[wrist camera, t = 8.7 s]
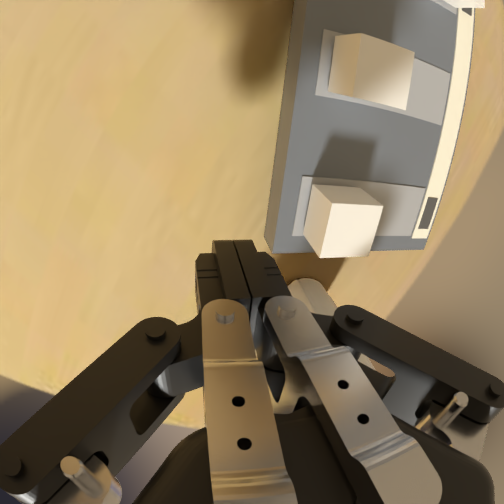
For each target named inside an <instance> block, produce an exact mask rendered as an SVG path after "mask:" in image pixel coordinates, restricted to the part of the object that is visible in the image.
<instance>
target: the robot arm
mask: <svg viewBox="0 0 504 504" xmlns="http://www.w3.org/2000/svg"><path fill="white" fill-rule="evenodd" d="M195 293H196V302H197V310H198V315H197V316H196V317H195V318H194V319H193V320H191V321H189V322H187V323H184V324H181V325H177V324H176V323H174V322H173V321H171V320H169V319H167V318H162V317H151V318H147V319H144V320H142V321H140V322H139V323H138V324H136V325H135V326H134V327H133V328H132V329H131V330H130V331H128V332H127V333H126V334H125V335H124V336H123V337H121V338H120V339H119V340H118V341H117V342H116V343H114V344H113V345H112V346H111V347H110V348H109V349H108V350H106V351H105V352H104V353H103V354H102V355H101V356H100V357H98V358H97V359H96V360H95V361H94V362H93V363H92V364H90V365H89V366H88V367H87V368H86V369H85V370H84V371H82V372H81V373H80V374H79V375H78V376H77V377H76V378H74V379H73V380H72V381H71V382H70V383H69V384H68V385H67V386H65V387H64V388H63V389H62V390H61V391H60V392H59V393H58V394H56V395H55V396H54V397H53V398H52V399H51V400H50V401H49V402H48V403H46V404H45V405H44V406H43V407H42V408H41V409H40V410H39V411H37V412H36V413H35V414H34V415H33V416H32V417H31V418H30V419H29V420H28V421H27V422H25V423H24V424H23V425H22V426H21V427H20V428H19V429H18V430H17V431H16V432H14V433H13V434H12V435H11V436H10V437H9V438H8V439H7V440H6V441H5V442H4V443H2V444H1V445H0V488H2V489H3V490H4V491H6V492H7V493H9V494H10V495H12V496H13V497H15V498H16V499H17V500H18V501H19V502H21V503H23V504H119V503H120V500H121V496H122V489H121V486H120V483H119V481H118V480H117V479H116V477H115V476H116V475H117V474H118V473H119V472H120V470H121V469H122V468H123V467H124V466H125V465H126V464H127V463H128V462H129V460H130V459H131V458H132V457H133V456H134V455H135V453H136V452H137V451H138V450H139V449H140V448H141V447H142V446H143V444H144V443H145V442H146V441H147V440H148V439H149V438H150V436H151V435H152V434H153V433H154V432H155V431H156V429H157V428H158V427H159V426H160V425H161V424H162V422H163V421H164V420H165V419H166V418H167V417H168V415H169V414H170V413H171V412H172V411H173V409H174V408H175V407H176V406H177V405H178V403H179V402H180V401H181V400H182V399H183V397H184V395H185V393H186V392H189V391H191V390H194V389H197V388H200V387H203V401H204V419H205V427H204V428H202V429H199V430H197V431H195V432H193V433H192V434H190V435H188V436H187V437H186V438H185V439H183V440H182V441H181V442H180V443H179V444H178V445H177V446H176V447H175V448H174V449H173V450H172V451H171V453H170V454H169V455H168V457H167V458H166V460H165V461H164V462H163V464H162V465H161V466H160V468H159V469H158V470H157V472H156V473H155V474H154V476H153V477H152V478H151V480H150V481H149V482H148V484H147V485H146V486H145V488H144V489H143V490H142V491H141V493H140V494H139V495H138V497H137V498H136V499H135V500H134V502H133V503H132V504H495V501H494V485H493V480H492V477H491V475H490V473H489V472H488V470H487V469H486V468H485V466H484V465H483V464H482V463H480V462H479V461H480V457H481V454H482V450H483V446H484V442H485V438H486V433H487V428H488V424H489V422H490V421H491V420H492V419H493V418H494V417H495V416H496V415H497V414H498V413H499V412H500V411H501V410H502V409H503V408H504V383H503V382H502V381H501V380H499V379H498V378H496V377H494V376H493V375H490V374H489V373H487V372H485V371H483V370H481V369H479V368H477V367H475V366H473V365H471V364H469V363H467V362H465V361H463V360H461V359H460V358H458V357H456V356H454V355H452V354H450V353H448V352H446V351H444V350H442V349H440V348H438V347H436V346H434V345H432V344H430V343H428V342H427V341H425V340H423V339H420V338H419V337H417V336H415V335H413V334H411V333H409V332H407V331H405V330H403V329H401V328H399V327H397V326H395V325H394V324H392V323H390V322H388V321H386V320H384V319H382V318H380V317H378V316H376V315H374V314H372V313H370V312H368V311H366V310H364V309H363V308H360V307H358V306H354V305H343V306H340V307H338V308H337V309H336V310H335V312H334V315H333V316H329V315H322V314H315V313H312V312H310V311H309V309H308V308H307V306H306V305H305V304H304V303H303V302H302V301H301V300H299V299H297V298H294V297H292V295H291V293H290V291H289V289H288V287H287V285H286V283H285V281H284V279H283V276H282V275H281V272H280V270H279V269H278V266H277V264H276V262H275V260H274V259H273V258H272V257H271V256H270V255H268V254H267V253H266V252H257V250H256V248H255V246H254V243H253V241H252V240H233V241H232V240H213V243H212V253H202V254H200V255H199V256H198V258H197V260H196V261H195ZM255 350H256V353H257V357H256V353H255ZM361 353H362V354H364V355H365V356H367V357H369V358H371V359H373V360H375V361H377V362H378V363H380V364H382V365H384V366H386V367H388V368H389V369H391V370H392V371H393V372H394V373H395V376H393V377H387V376H385V375H383V374H381V373H379V372H377V371H375V370H373V369H372V368H370V367H368V366H366V365H364V364H363V363H361V362H359V361H358V359H359V357H360V355H361Z"/></svg>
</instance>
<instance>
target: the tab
mask: <svg viewBox="0 0 504 504" xmlns="http://www.w3.org/2000/svg"><path fill="white" fill-rule="evenodd" d="M382 209H383V205H382V204H380V203H379V202H378V201H377V200H375V199H374V198H373V197H371V196H370V195H369V194H368V193H366V192H365V191H364V190H363V189H361V188H358V187H346V186H332V185H316V184H312V189H311V195H310V200H309V206H308V211H307V216H306V221H305V226H304V231H303V235H304V236H305V238H306V239H307V241H308V242H309V244H310V245H311V246H312V248H313V249H314V251H315V252H316V254H317V255H318V257H319V258H337V257H365V256H369V253H370V250H371V246H372V243H373V240H374V237H375V233H376V230H377V227H378V223H379V220H380V216H381V213H382Z"/></svg>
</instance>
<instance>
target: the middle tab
mask: <svg viewBox="0 0 504 504" xmlns="http://www.w3.org/2000/svg"><path fill="white" fill-rule="evenodd" d="M414 54H415V52H413V51H410V50H408V49H405V48H403V47H400V46H397V45H395V44H392V43H389V42H387V41H384V40H381V39H378V38H375V37H372V36H369V35H366V34H363V33H356V34H347V35H339V36H335V42H334V50H333V57H332V65H331V72H330V79H329V86H328V92H332V93H337V94H341V95H345V96H350V97H354V98H359V99H363V100H367V101H372V102H376V103H380V104H384V105H388V106H391V107H395V108H399V109H402V110H406V106H407V100H408V94H409V88H410V82H411V76H412V69H413V62H414Z"/></svg>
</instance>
